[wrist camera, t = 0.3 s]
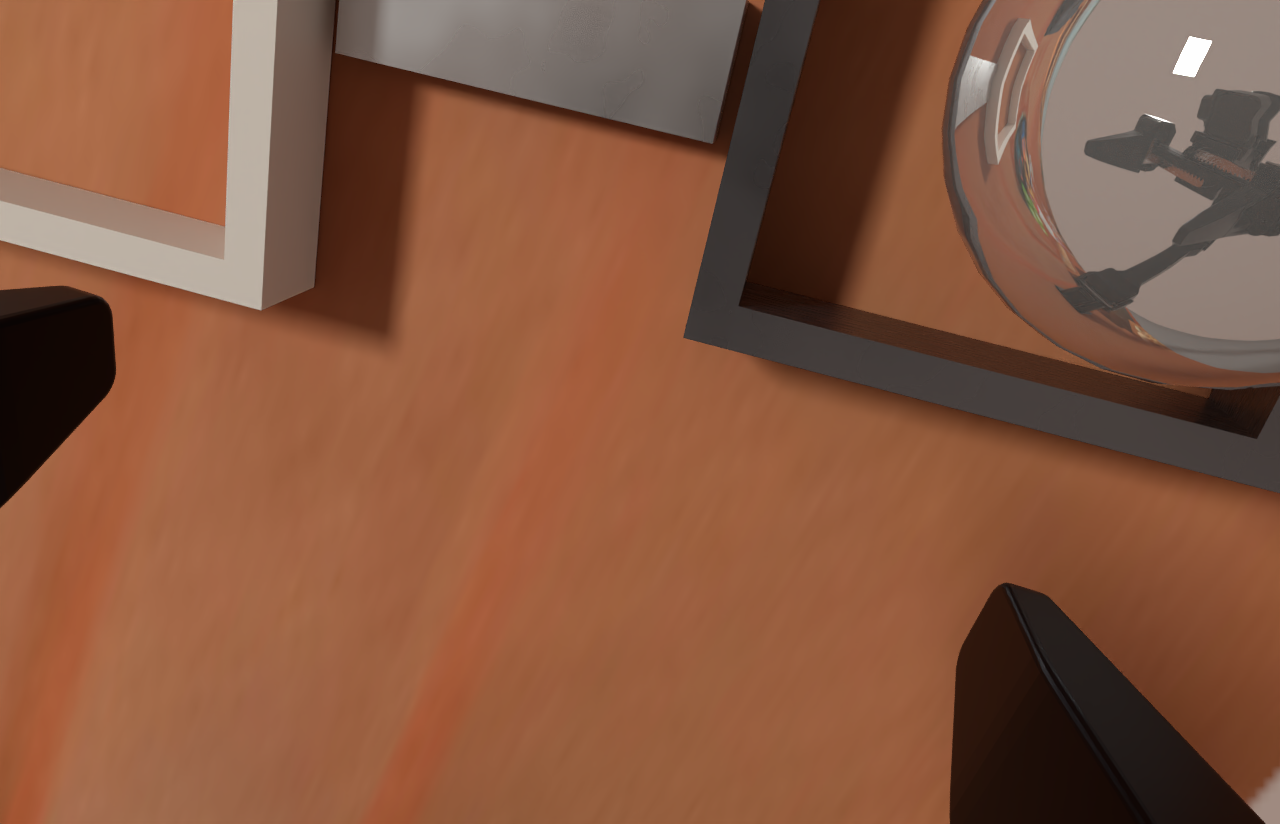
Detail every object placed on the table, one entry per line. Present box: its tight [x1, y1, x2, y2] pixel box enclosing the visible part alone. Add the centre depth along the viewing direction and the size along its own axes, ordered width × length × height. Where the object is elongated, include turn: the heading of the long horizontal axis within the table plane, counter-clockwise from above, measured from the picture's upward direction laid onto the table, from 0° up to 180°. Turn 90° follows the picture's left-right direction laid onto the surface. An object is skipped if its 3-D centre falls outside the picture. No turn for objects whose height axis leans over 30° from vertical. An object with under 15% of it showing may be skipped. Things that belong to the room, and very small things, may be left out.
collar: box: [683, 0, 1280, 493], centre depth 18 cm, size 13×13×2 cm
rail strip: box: [335, 0, 749, 144], centre depth 20 cm, size 3×9×1 cm, turn 78°
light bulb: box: [941, 0, 1280, 390], centre depth 14 cm, size 7×7×12 cm
